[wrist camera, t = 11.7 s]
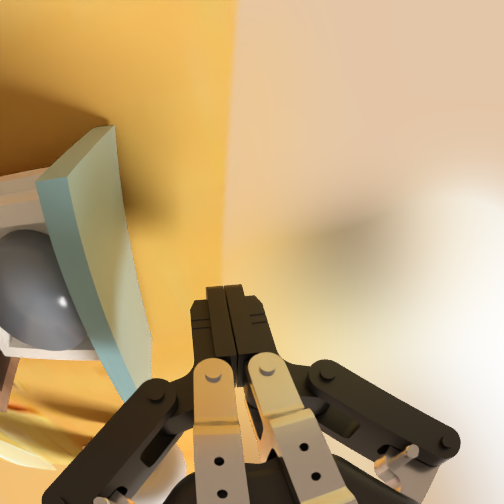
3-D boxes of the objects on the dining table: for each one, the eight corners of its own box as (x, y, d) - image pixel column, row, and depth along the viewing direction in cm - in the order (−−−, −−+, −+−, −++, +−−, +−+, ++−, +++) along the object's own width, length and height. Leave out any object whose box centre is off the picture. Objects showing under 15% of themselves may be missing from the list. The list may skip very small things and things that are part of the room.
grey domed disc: (29, 330, 14) (21, 353, 13) (-27, 245, 11) (-43, 266, 9) (115, 319, 15) (110, 345, 13) (62, 214, 11) (47, 238, 10)
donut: (93, 423, 27) (93, 505, 19) (89, 411, 25) (86, 500, 17) (180, 431, 30) (190, 511, 22) (183, 419, 28) (194, 507, 20)
